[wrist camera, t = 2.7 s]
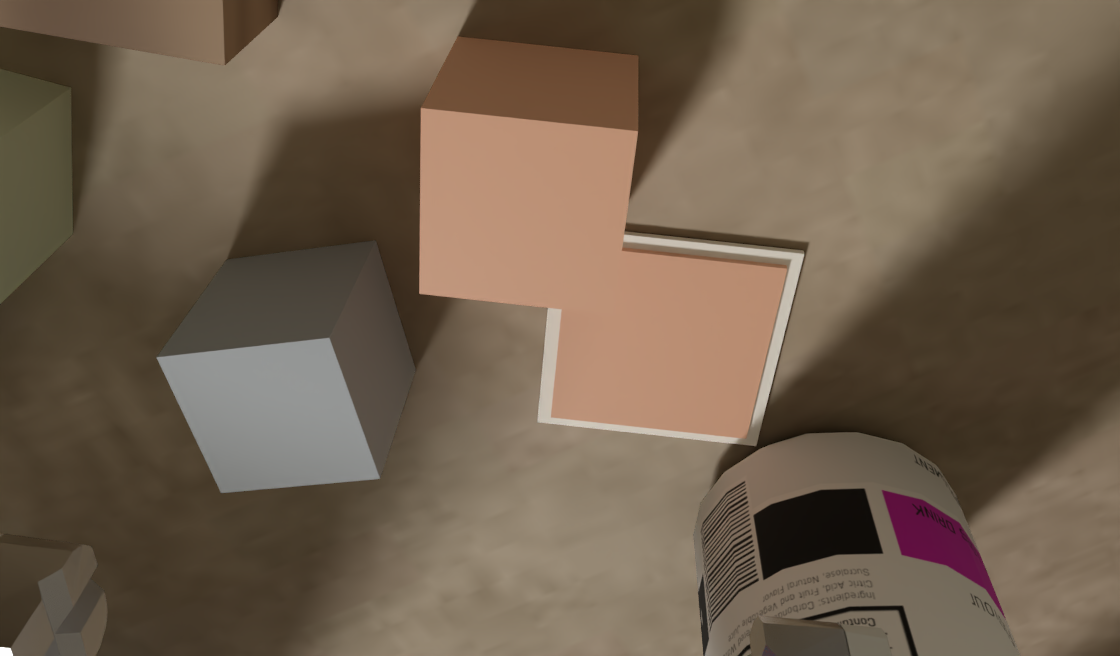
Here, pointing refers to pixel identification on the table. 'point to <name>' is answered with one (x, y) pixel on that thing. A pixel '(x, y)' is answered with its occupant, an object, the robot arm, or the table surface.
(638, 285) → the terracotta swatch
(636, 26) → the table surface
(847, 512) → the supplement can
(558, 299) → the terracotta cube
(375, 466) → the slate grey cube
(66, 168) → the sage cube
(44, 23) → the walnut base block
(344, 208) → the table surface
